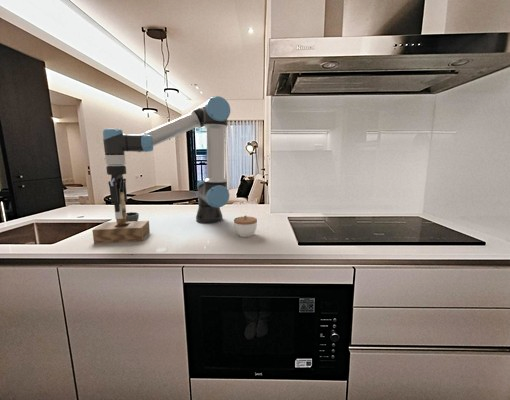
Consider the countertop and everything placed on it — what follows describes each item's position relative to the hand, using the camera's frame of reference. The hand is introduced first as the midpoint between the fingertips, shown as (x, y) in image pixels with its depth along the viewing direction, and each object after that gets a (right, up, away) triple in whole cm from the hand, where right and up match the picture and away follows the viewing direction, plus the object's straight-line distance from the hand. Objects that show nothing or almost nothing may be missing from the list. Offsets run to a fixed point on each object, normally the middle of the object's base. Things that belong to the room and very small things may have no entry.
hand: (121, 217), depth 115 cm
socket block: (0, -10, +2) cm, 10 cm away
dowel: (0, -3, 0) cm, 3 cm away
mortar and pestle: (-6, -7, +19) cm, 21 cm away
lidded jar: (+56, -9, +4) cm, 57 cm away
